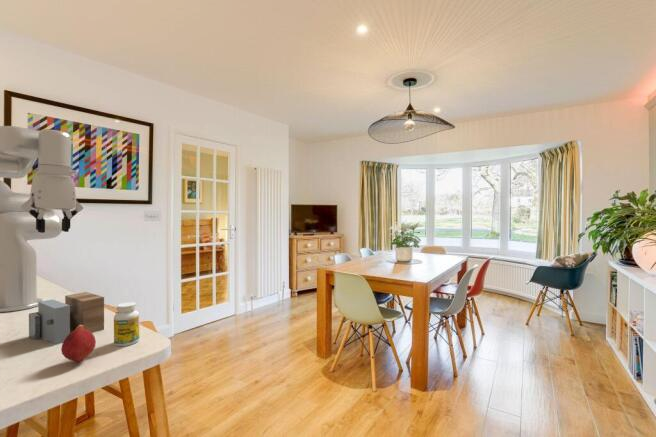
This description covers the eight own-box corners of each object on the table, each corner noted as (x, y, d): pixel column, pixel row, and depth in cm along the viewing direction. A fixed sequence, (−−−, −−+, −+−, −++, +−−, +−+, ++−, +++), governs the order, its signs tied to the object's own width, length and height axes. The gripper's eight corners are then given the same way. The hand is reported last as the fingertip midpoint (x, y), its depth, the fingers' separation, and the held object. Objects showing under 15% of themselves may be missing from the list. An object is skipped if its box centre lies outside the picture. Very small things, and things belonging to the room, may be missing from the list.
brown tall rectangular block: (65, 328, 89) (65, 295, 89) (86, 322, 93) (86, 291, 93) (83, 335, 84) (82, 301, 84) (104, 329, 88) (104, 296, 88)
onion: (68, 371, 65) (68, 332, 65) (56, 363, 69) (56, 326, 68) (100, 360, 70) (100, 324, 70) (88, 353, 73) (88, 319, 73)
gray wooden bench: (29, 336, 82) (28, 313, 82) (69, 326, 90) (68, 305, 90) (35, 339, 81) (35, 316, 80) (75, 329, 88) (75, 307, 88)
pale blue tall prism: (33, 337, 82) (33, 302, 82) (52, 332, 86) (52, 299, 85) (50, 346, 77) (49, 309, 77) (69, 340, 80) (69, 305, 80)
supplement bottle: (138, 336, 84) (138, 300, 83) (139, 343, 79) (139, 305, 79) (113, 341, 81) (113, 303, 81) (113, 348, 76) (113, 308, 76)
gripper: (82, 175, 106) (80, 229, 107) (11, 168, 91) (11, 232, 92) (92, 175, 102) (91, 231, 103) (21, 168, 88) (20, 234, 88)
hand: (53, 231), depth 98 cm, fingers open, 5 cm apart
